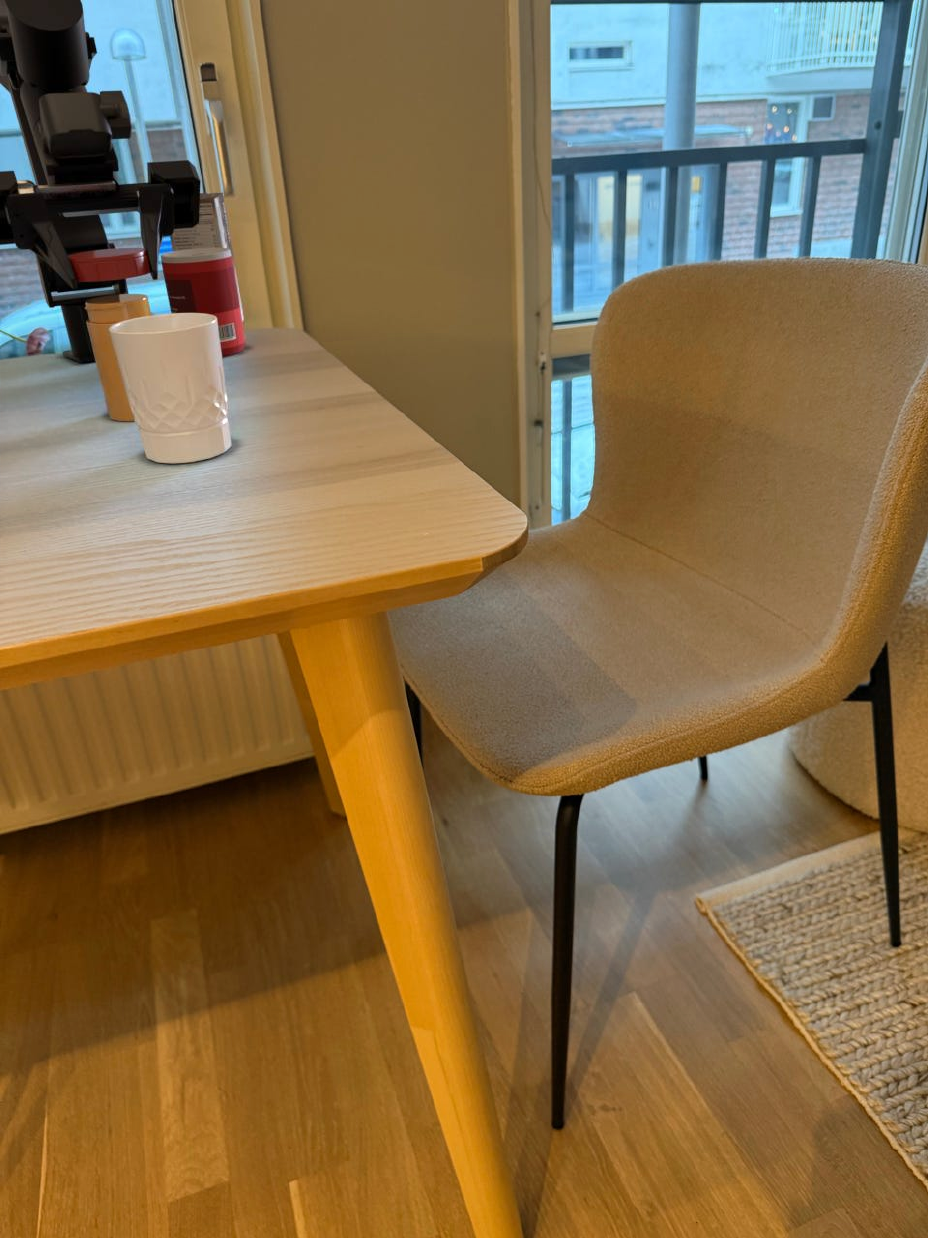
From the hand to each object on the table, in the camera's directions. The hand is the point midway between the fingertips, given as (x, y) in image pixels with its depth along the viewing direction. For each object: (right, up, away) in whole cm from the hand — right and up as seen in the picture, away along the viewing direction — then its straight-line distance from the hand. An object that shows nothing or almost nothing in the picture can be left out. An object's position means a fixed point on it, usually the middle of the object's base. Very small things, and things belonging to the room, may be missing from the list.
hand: (115, 280), depth 76 cm
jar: (0, -10, +7) cm, 12 cm away
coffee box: (-3, +9, +42) cm, 43 cm away
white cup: (+8, -15, -4) cm, 18 cm away
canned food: (0, +3, +30) cm, 30 cm away
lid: (-1, +2, +1) cm, 3 cm away
